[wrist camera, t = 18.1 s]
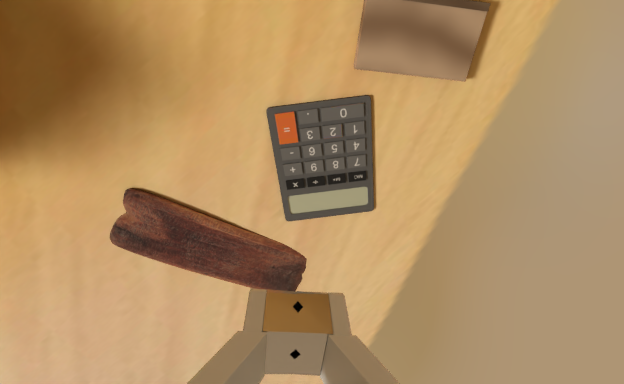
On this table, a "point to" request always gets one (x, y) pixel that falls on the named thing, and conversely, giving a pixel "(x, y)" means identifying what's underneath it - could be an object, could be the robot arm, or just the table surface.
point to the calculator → (323, 156)
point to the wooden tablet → (204, 244)
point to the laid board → (420, 37)
